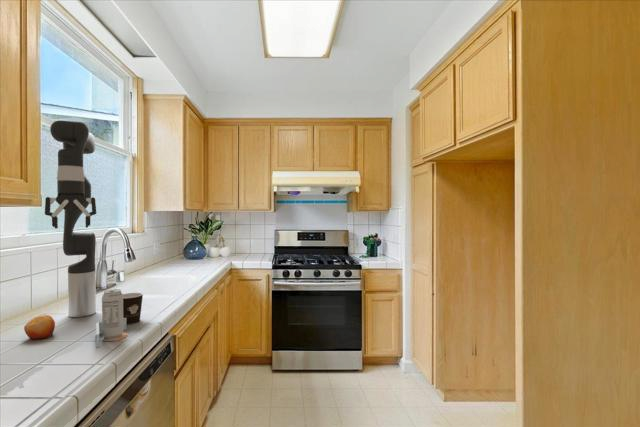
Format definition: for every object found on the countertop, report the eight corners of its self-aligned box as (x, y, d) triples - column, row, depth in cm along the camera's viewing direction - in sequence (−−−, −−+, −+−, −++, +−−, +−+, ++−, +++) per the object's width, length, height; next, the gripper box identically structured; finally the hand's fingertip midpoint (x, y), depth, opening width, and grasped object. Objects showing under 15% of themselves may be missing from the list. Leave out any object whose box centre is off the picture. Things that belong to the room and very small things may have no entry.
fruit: (65, 326, 124) (56, 310, 119) (51, 346, 117) (41, 329, 113) (41, 327, 123) (31, 311, 119) (26, 346, 117) (15, 330, 112)
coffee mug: (144, 317, 139) (143, 291, 139) (141, 323, 131) (141, 296, 131) (110, 320, 135) (109, 294, 134) (105, 327, 127) (105, 300, 126)
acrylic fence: (96, 333, 120) (96, 322, 120) (126, 329, 125) (126, 317, 125) (96, 347, 108) (96, 334, 108) (129, 341, 113) (129, 329, 113)
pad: (103, 336, 118) (103, 335, 118) (126, 332, 122) (126, 331, 122) (103, 342, 112) (103, 341, 112) (128, 338, 116) (128, 337, 116)
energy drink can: (127, 333, 120) (126, 288, 120) (116, 339, 114) (116, 293, 114) (109, 333, 120) (109, 289, 120) (98, 339, 114) (97, 293, 114)
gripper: (95, 181, 127) (96, 226, 127) (45, 180, 119) (46, 228, 120) (95, 180, 121) (96, 227, 121) (43, 178, 113) (43, 229, 113)
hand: (71, 227), depth 120 cm, fingers open, 8 cm apart
